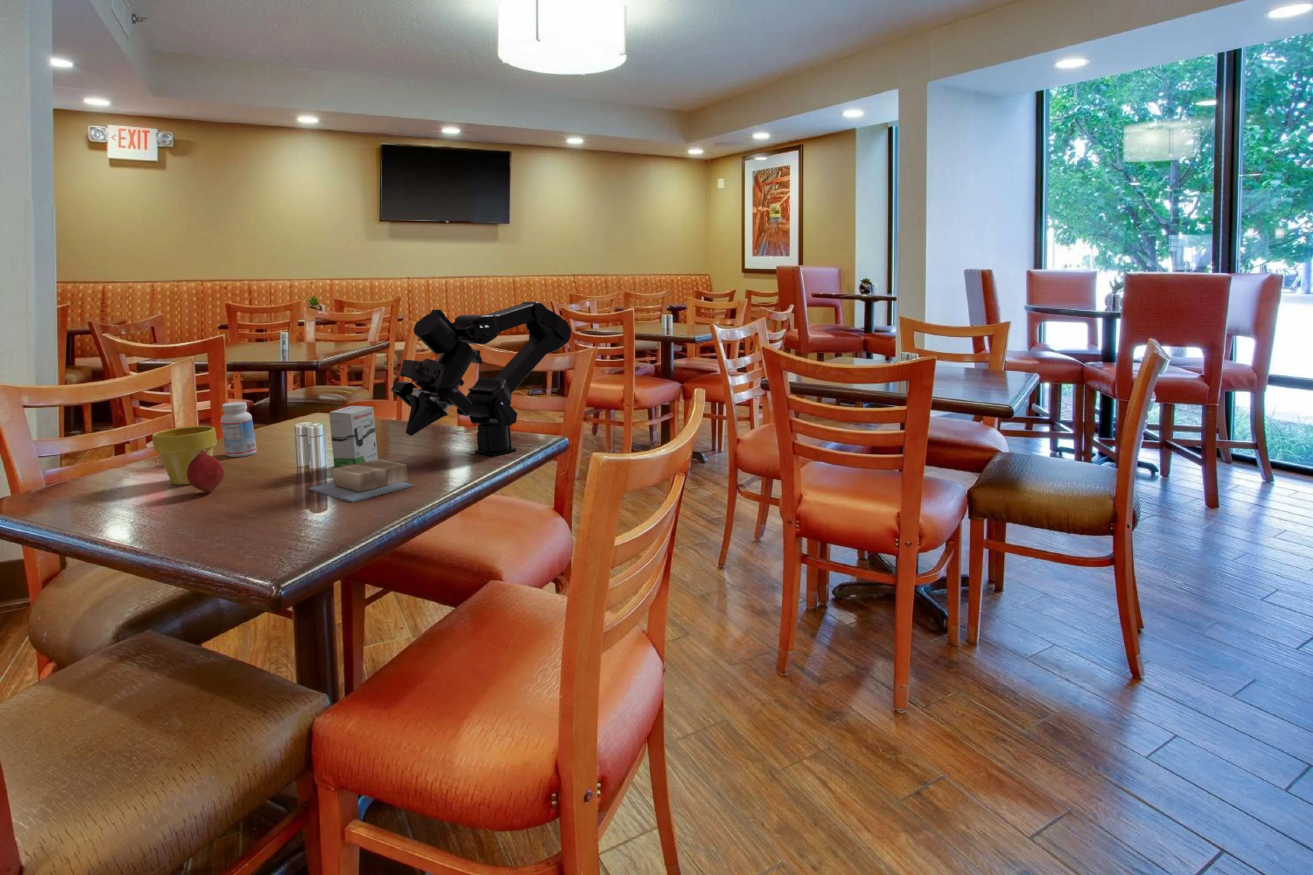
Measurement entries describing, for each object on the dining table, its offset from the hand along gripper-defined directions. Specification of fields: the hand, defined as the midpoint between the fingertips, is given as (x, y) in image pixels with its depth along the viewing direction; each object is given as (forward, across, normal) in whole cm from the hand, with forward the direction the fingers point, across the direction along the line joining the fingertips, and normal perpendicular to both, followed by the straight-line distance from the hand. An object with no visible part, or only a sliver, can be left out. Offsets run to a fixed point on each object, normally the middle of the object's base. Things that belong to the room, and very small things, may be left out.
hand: (408, 434), depth 152 cm
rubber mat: (+13, 0, -2) cm, 14 cm away
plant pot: (+24, -33, -14) cm, 43 cm away
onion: (+26, -21, -15) cm, 36 cm away
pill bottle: (+13, -47, -2) cm, 49 cm away
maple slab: (+7, 0, +2) cm, 7 cm away
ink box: (+8, -15, +4) cm, 17 cm away
